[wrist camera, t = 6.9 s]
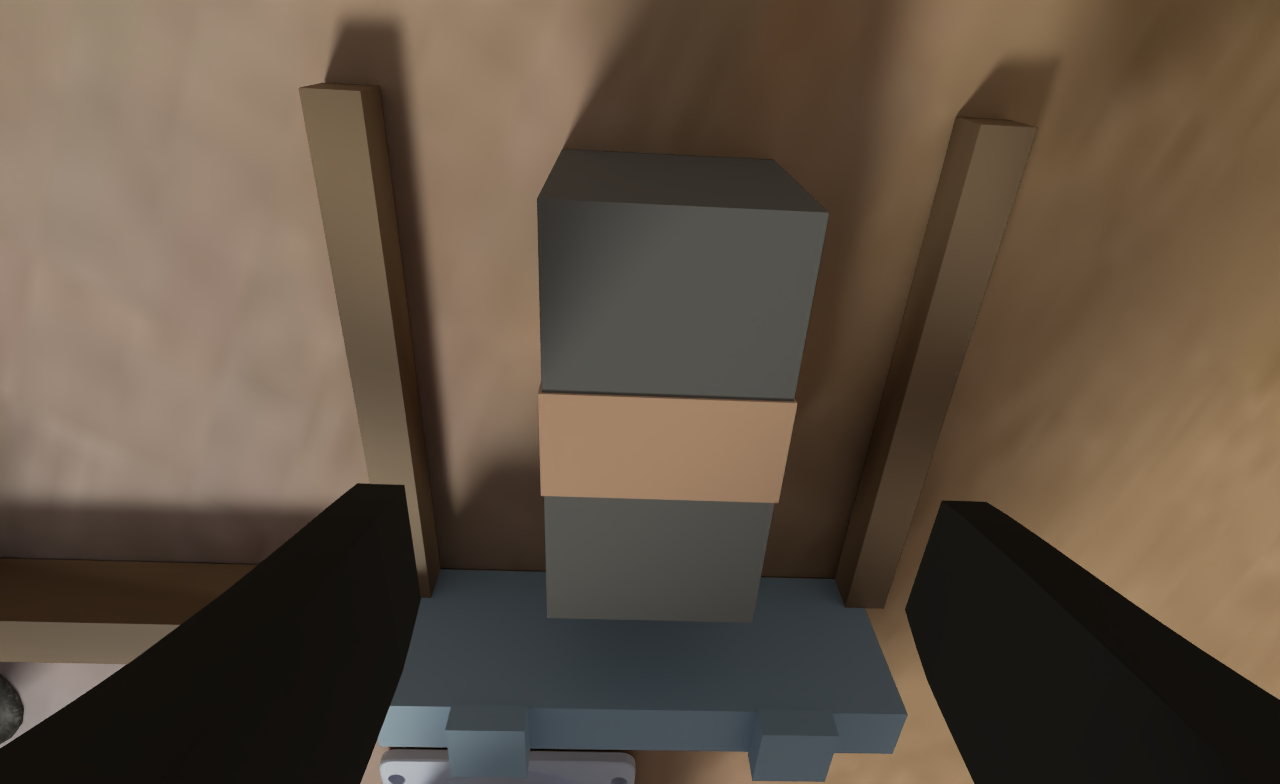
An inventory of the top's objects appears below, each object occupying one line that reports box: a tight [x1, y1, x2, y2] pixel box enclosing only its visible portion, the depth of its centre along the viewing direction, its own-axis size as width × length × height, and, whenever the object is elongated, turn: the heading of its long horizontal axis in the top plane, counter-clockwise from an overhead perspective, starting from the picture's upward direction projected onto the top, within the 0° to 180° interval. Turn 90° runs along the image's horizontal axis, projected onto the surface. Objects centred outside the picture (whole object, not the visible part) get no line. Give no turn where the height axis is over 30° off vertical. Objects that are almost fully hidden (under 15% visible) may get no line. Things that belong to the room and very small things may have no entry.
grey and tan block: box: [537, 149, 829, 623], centre depth 13 cm, size 8×4×4 cm, turn 177°
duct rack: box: [0, 83, 1037, 782], centre depth 13 cm, size 13×24×5 cm, turn 87°
